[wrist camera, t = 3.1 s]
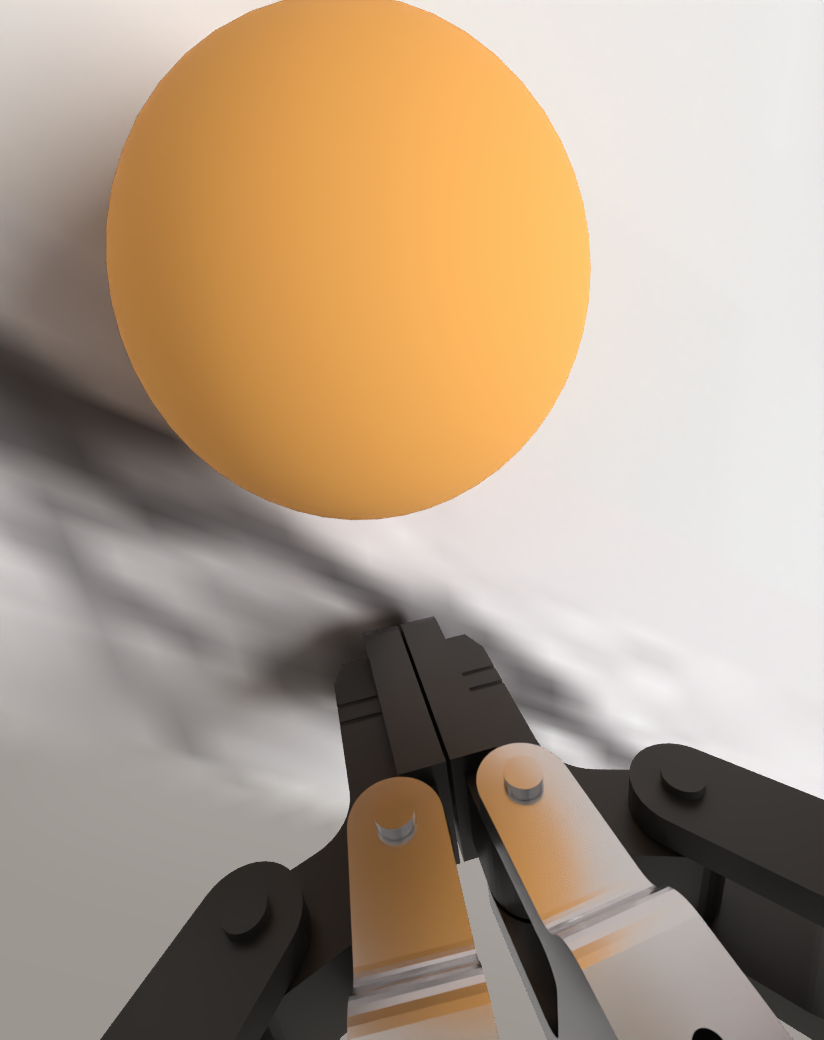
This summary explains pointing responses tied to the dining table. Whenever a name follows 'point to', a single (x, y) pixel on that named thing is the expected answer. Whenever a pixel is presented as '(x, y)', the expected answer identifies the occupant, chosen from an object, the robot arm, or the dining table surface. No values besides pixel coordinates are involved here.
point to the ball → (348, 257)
